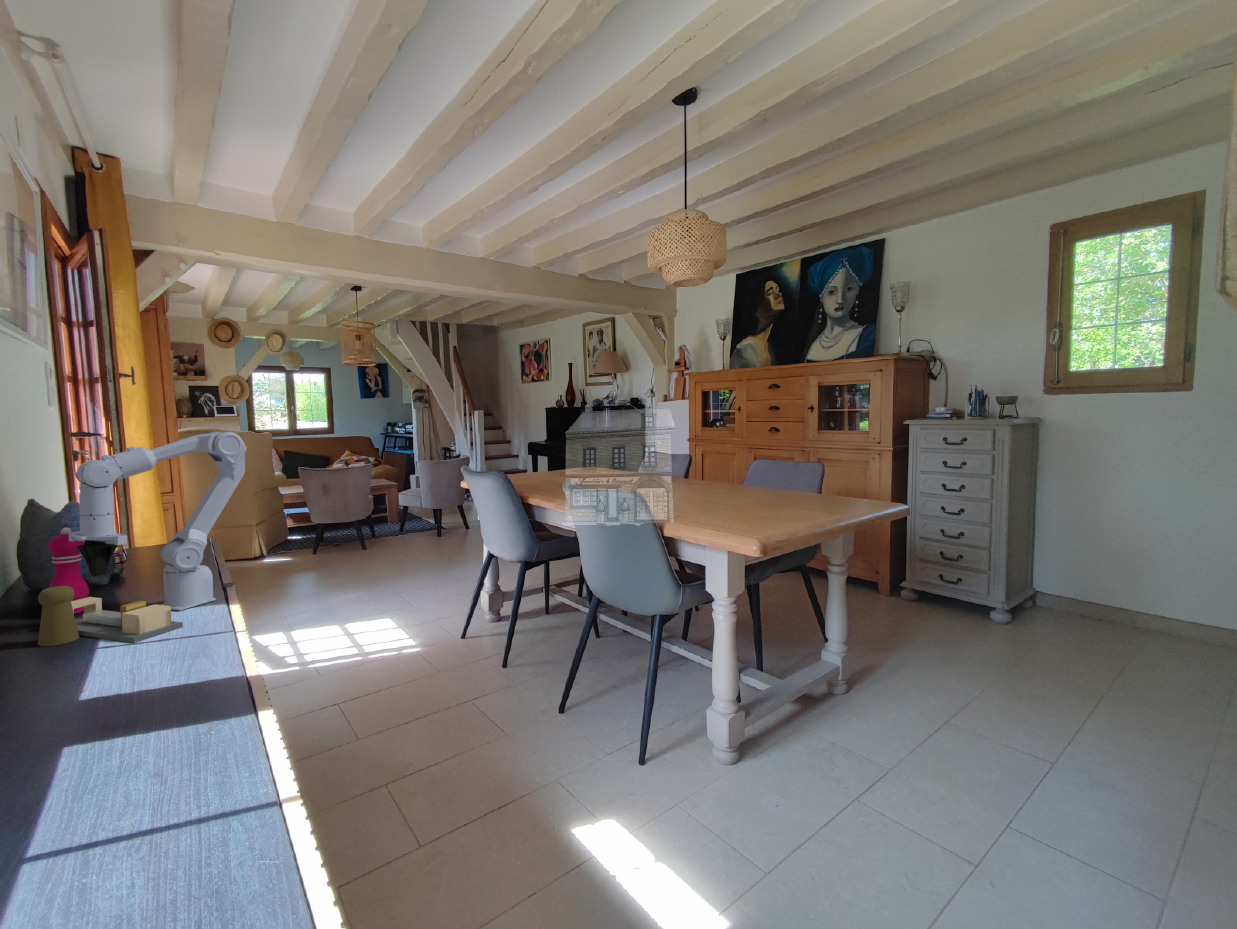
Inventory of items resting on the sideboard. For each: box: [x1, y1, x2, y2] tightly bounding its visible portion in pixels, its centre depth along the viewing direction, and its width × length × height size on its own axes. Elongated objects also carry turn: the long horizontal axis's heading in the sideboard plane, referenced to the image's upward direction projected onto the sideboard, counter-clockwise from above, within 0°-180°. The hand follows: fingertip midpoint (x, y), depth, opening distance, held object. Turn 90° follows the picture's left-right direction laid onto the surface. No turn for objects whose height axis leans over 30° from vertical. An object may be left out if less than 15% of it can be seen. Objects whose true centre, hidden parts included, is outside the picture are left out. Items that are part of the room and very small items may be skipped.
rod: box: [82, 600, 147, 628], centre depth 123 cm, size 4×17×5 cm, turn 76°
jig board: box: [71, 596, 184, 643], centre depth 123 cm, size 10×25×5 cm, turn 76°
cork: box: [37, 586, 80, 647], centre depth 116 cm, size 6×6×11 cm
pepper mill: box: [47, 527, 90, 615], centre depth 133 cm, size 7×7×20 cm
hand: (98, 574), depth 128 cm, fingers closed
